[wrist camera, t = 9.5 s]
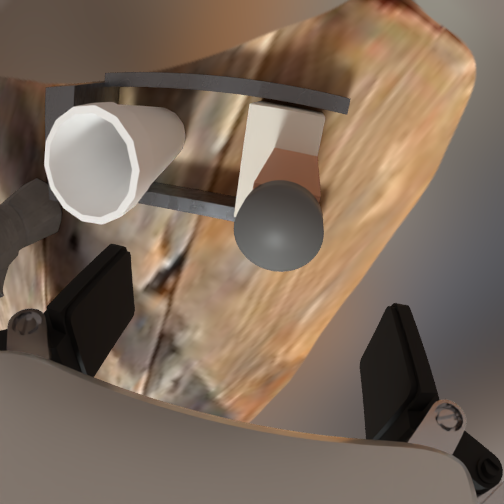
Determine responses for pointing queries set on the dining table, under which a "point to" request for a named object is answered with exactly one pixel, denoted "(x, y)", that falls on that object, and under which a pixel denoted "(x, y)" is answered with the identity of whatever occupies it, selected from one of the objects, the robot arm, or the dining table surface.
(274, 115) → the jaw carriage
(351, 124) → the dining table surface
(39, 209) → the coffeepot
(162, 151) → the foam cup
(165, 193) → the grey frame
